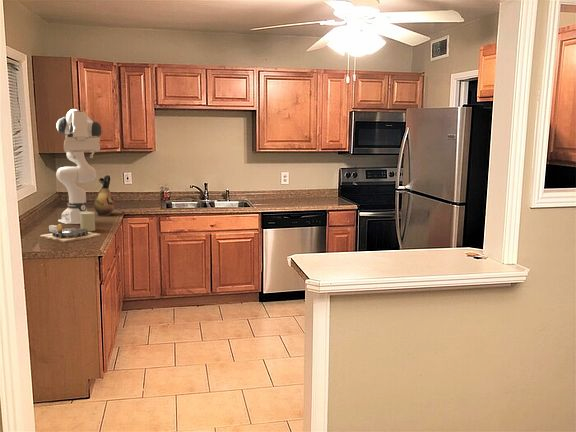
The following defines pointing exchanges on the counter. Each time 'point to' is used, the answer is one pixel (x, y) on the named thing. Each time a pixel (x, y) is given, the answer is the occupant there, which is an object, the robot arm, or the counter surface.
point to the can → (87, 220)
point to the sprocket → (69, 232)
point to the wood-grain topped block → (52, 228)
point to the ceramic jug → (104, 198)
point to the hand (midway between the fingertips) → (83, 158)
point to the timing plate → (64, 239)
